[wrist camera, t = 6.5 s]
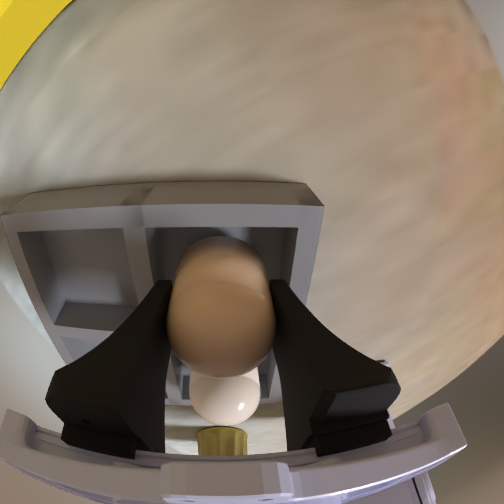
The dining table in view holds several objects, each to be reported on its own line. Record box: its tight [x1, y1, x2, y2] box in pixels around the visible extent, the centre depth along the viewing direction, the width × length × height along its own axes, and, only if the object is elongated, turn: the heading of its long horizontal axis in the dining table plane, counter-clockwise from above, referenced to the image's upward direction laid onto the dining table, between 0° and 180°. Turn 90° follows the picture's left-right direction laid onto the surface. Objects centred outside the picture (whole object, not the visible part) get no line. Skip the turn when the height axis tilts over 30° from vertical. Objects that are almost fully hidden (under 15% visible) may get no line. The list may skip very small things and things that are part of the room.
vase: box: [197, 427, 247, 456], centre depth 23 cm, size 6×6×14 cm
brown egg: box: [166, 236, 276, 379], centre depth 12 cm, size 4×4×6 cm
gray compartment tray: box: [0, 181, 324, 406], centre depth 16 cm, size 16×16×3 cm
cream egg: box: [189, 367, 260, 426], centre depth 16 cm, size 4×4×6 cm
